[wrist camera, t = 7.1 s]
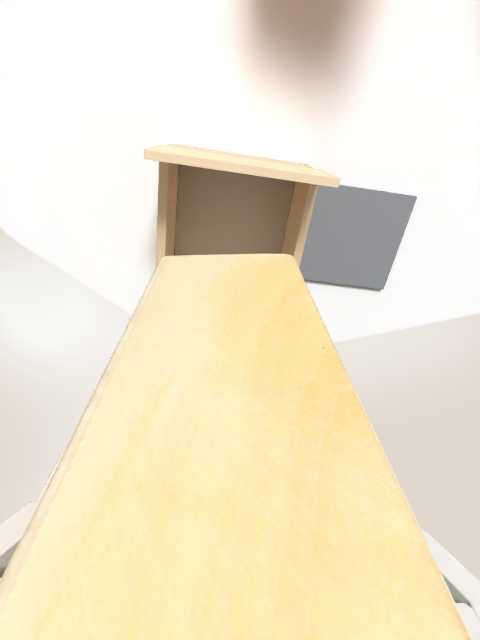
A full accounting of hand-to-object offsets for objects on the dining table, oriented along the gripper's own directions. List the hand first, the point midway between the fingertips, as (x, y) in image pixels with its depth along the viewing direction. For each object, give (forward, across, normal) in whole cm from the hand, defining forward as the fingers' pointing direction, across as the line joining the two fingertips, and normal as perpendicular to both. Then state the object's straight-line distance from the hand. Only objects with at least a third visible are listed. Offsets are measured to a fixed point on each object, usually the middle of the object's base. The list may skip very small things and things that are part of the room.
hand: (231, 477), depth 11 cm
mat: (+33, -14, 0) cm, 36 cm away
